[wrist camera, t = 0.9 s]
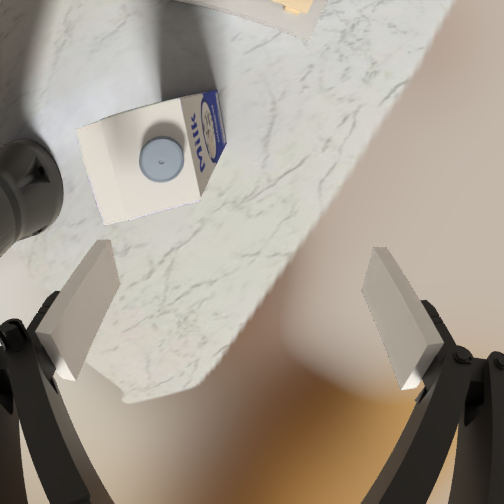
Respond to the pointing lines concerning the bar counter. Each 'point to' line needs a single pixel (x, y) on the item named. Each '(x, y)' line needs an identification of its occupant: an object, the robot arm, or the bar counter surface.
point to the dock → (273, 13)
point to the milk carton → (153, 155)
